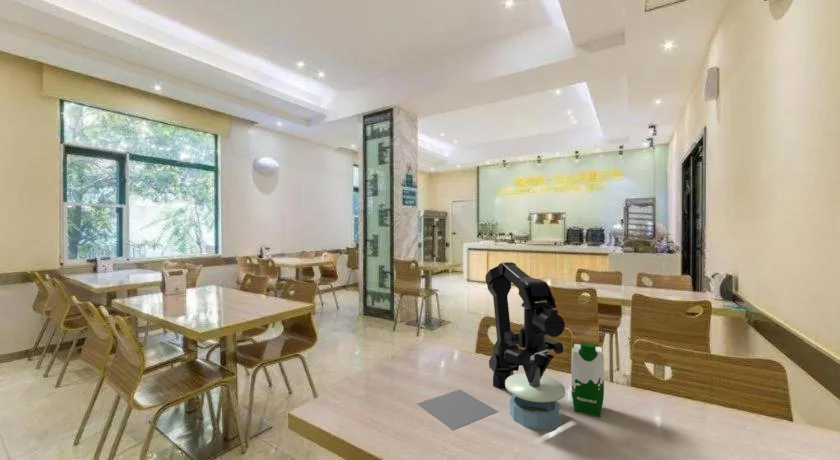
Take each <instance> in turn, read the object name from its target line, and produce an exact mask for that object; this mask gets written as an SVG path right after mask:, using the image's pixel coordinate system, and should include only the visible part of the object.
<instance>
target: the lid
mask: <svg viewBox="0 0 840 460" xmlns="http://www.w3.org/2000/svg"><path fill="white" fill-rule="evenodd" d="M505 387H506V389H505V390H506V391H507V392H509V394H511V395H514V396H516V397H519V398H521V399H525V400H528V401H534V402H554V401H557V402H558V401H560V400H562V399H563V398H564V397H565V395H566V389H565V386H564V385H563V384H562V382H560V381H558V380H557V379H556V378H553V377H550V376H547V375H544V374H543V375H542V377H541V379H540V367H539V366H537V368H536V372H535V376H534V379H533V382H532V383H529V382H528V379H527V377H526V374H525V372H521V373H515V374H514V373H513V375H511V376H509V377H508V378H507V379H506V380H505Z"/></svg>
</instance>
